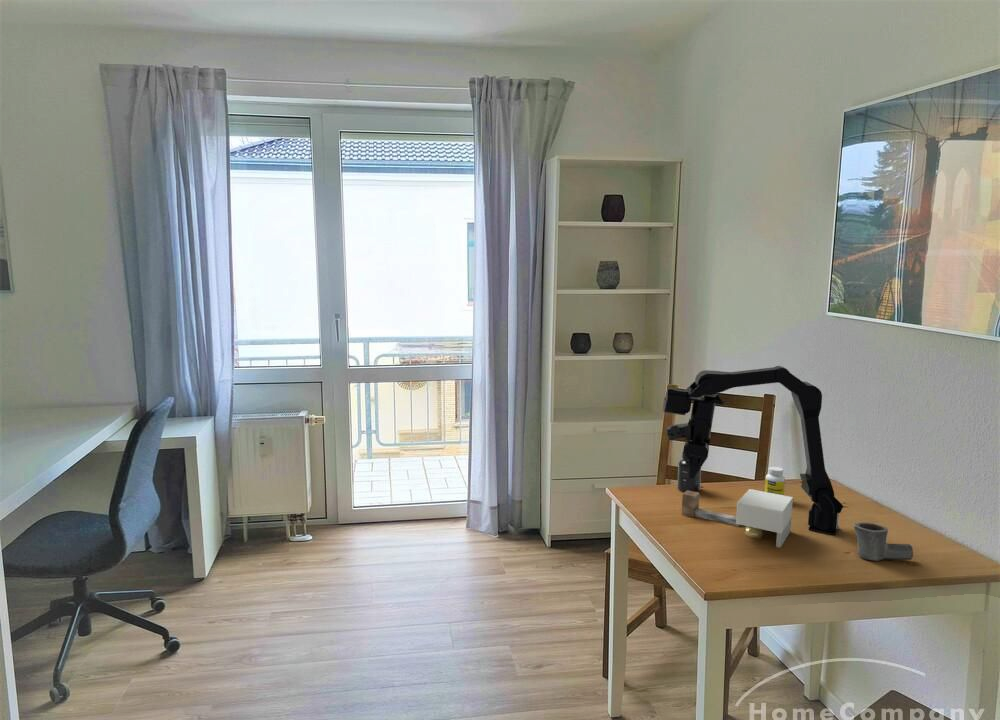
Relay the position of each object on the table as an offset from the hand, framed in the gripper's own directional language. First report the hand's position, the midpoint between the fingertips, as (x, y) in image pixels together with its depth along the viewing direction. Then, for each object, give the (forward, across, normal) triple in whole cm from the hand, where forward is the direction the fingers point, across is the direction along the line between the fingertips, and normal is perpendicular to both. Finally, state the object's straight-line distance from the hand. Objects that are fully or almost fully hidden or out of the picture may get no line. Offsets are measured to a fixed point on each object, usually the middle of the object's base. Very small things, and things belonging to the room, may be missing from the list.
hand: (692, 473), depth 179 cm
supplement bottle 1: (+14, -27, -1) cm, 30 cm away
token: (+12, +4, +18) cm, 22 cm away
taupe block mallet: (+13, -4, +7) cm, 15 cm away
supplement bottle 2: (+11, -26, +24) cm, 37 cm away
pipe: (+10, +8, +46) cm, 48 cm away
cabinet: (+12, +3, +20) cm, 23 cm away
